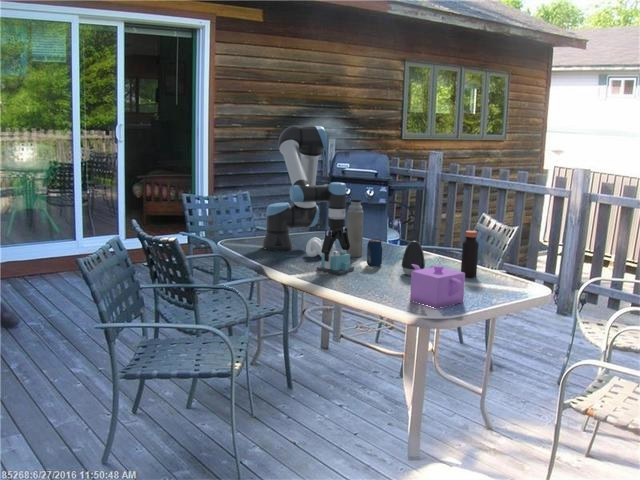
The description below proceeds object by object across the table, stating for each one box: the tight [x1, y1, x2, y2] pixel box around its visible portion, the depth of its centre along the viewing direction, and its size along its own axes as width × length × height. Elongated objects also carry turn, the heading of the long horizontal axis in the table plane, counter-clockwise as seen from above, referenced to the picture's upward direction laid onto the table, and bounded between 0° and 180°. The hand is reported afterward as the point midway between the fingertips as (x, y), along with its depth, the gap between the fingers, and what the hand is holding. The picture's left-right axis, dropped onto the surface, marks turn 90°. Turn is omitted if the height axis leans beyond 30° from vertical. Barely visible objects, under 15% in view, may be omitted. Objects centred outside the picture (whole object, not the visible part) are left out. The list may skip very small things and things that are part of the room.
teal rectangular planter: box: [320, 251, 351, 270], centre depth 290 cm, size 14×9×6 cm, turn 45°
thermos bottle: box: [346, 198, 364, 258], centre depth 321 cm, size 8×8×28 cm
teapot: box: [409, 264, 466, 309], centre depth 244 cm, size 15×25×14 cm, turn 39°
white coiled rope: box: [305, 236, 324, 258], centre depth 318 cm, size 11×12×9 cm
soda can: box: [366, 238, 383, 268], centre depth 301 cm, size 7×7×12 cm
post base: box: [316, 250, 355, 276], centre depth 290 cm, size 12×12×8 cm
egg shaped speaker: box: [401, 240, 426, 277], centre depth 285 cm, size 10×10×15 cm
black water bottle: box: [460, 230, 479, 279], centre depth 284 cm, size 7×7×20 cm
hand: (335, 266), depth 290 cm, fingers open, 11 cm apart
